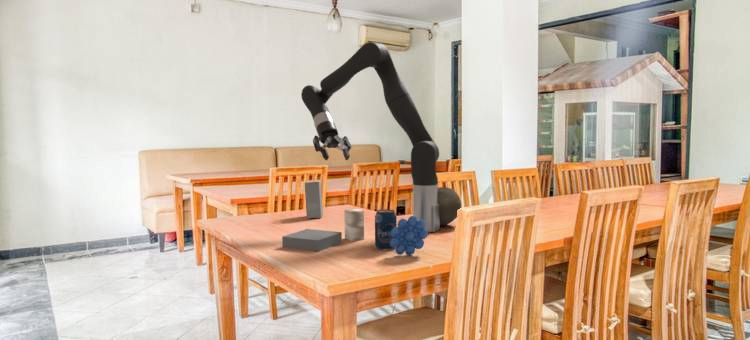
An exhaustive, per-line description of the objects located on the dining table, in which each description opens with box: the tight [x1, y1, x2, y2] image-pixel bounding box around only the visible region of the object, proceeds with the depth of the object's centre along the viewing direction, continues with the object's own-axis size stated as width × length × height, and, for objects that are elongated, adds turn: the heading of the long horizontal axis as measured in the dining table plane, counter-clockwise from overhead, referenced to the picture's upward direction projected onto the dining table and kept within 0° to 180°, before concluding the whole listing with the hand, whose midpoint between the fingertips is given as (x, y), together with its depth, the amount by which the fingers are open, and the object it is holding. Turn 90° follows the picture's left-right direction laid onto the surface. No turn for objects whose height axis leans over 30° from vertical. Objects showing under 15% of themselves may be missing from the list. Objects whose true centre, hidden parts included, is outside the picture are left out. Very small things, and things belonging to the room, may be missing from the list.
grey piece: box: [344, 208, 365, 242], centre depth 178 cm, size 5×5×10 cm
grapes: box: [390, 215, 429, 256], centre depth 154 cm, size 12×7×12 cm, turn 95°
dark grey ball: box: [438, 186, 462, 227], centre depth 199 cm, size 14×14×15 cm
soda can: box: [374, 208, 398, 251], centre depth 163 cm, size 7×7×12 cm
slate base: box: [281, 228, 343, 252], centre depth 169 cm, size 14×14×4 cm
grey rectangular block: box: [304, 180, 324, 219], centre depth 223 cm, size 8×7×16 cm
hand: (337, 158), depth 191 cm, fingers open, 8 cm apart
